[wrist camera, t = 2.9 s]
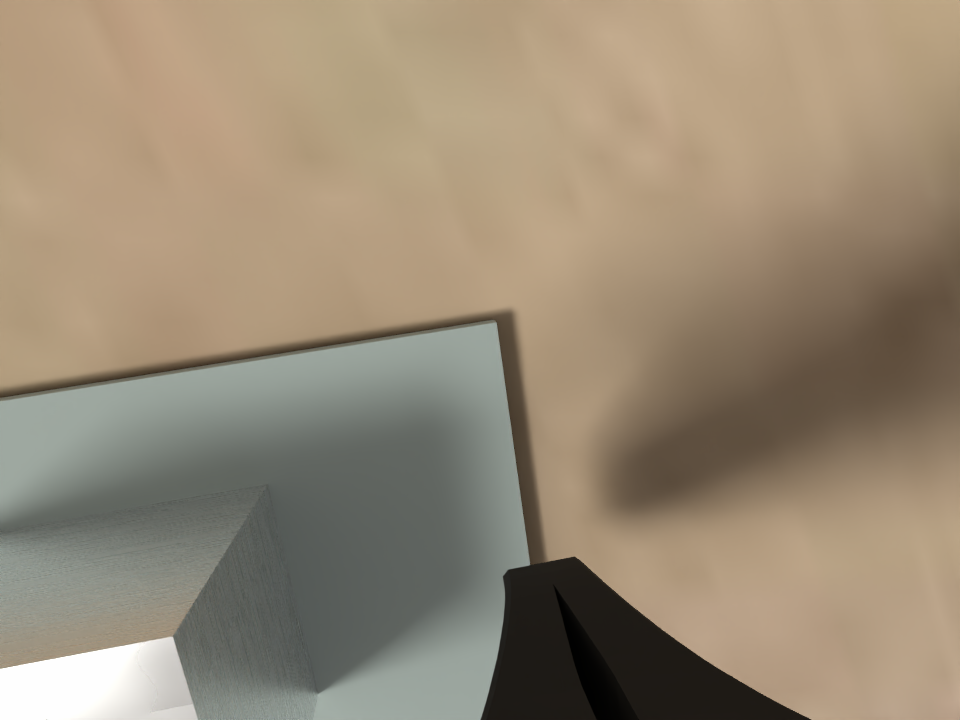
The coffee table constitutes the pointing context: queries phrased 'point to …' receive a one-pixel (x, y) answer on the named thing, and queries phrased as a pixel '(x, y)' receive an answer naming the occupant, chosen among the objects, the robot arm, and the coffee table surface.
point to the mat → (320, 495)
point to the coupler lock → (154, 615)
